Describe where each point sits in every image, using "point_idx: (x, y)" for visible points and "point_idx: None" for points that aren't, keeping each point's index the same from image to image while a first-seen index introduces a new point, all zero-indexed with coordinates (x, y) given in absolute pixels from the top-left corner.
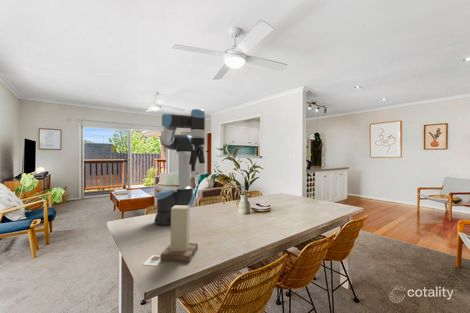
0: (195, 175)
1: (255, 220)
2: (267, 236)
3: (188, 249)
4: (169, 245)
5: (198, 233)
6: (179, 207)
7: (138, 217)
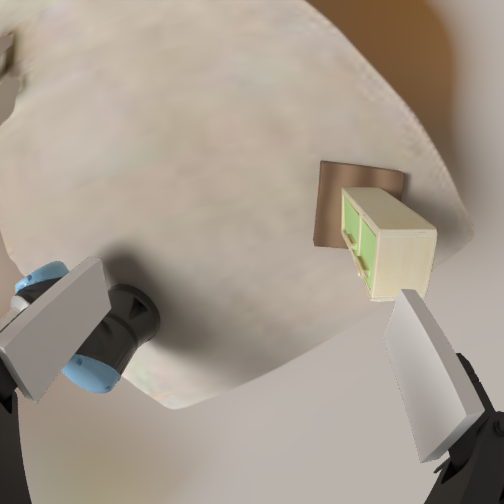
0: (422, 303)
1: (68, 36)
2: None
3: (365, 183)
4: (338, 246)
5: (194, 186)
6: (415, 269)
7: (126, 375)
